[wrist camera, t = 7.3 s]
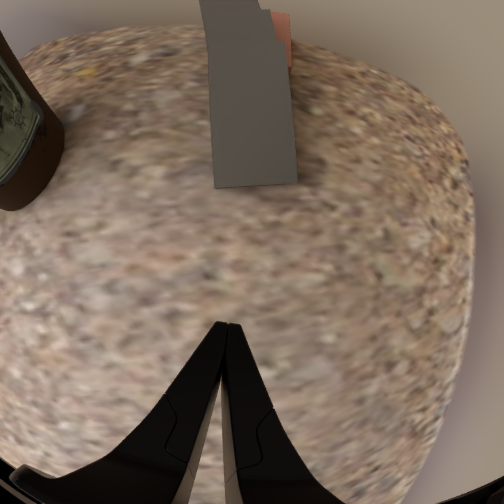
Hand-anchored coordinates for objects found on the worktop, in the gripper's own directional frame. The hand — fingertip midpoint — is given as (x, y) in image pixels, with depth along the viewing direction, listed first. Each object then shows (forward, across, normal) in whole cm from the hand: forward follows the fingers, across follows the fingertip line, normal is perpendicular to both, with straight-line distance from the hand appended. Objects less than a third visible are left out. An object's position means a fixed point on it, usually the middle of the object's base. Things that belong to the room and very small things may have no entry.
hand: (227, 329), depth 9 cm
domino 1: (+10, 0, -1) cm, 10 cm away
